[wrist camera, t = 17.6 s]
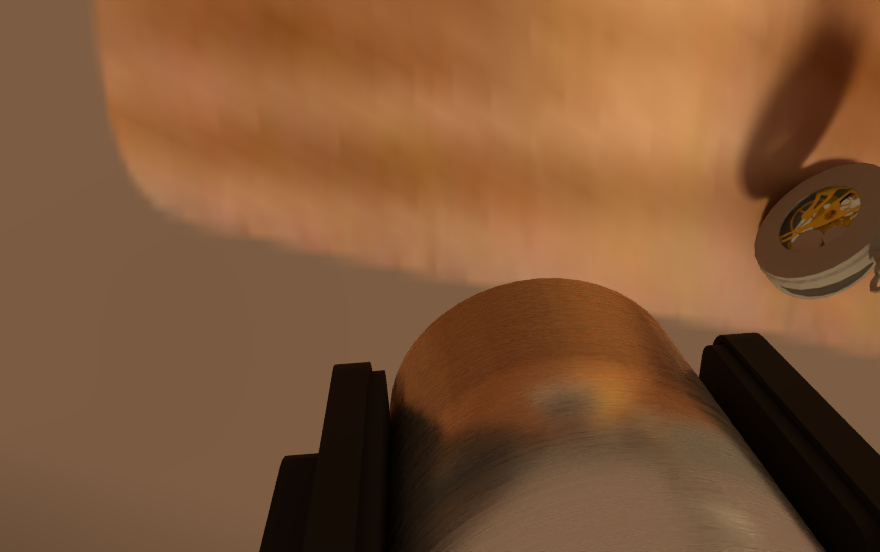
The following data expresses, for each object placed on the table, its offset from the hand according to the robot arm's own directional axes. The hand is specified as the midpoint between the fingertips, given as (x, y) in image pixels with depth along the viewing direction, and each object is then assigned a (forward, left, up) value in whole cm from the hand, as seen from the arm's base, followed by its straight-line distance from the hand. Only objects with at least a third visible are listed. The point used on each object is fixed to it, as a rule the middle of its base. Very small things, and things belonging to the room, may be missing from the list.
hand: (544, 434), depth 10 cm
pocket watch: (-19, +6, -23) cm, 31 cm away
